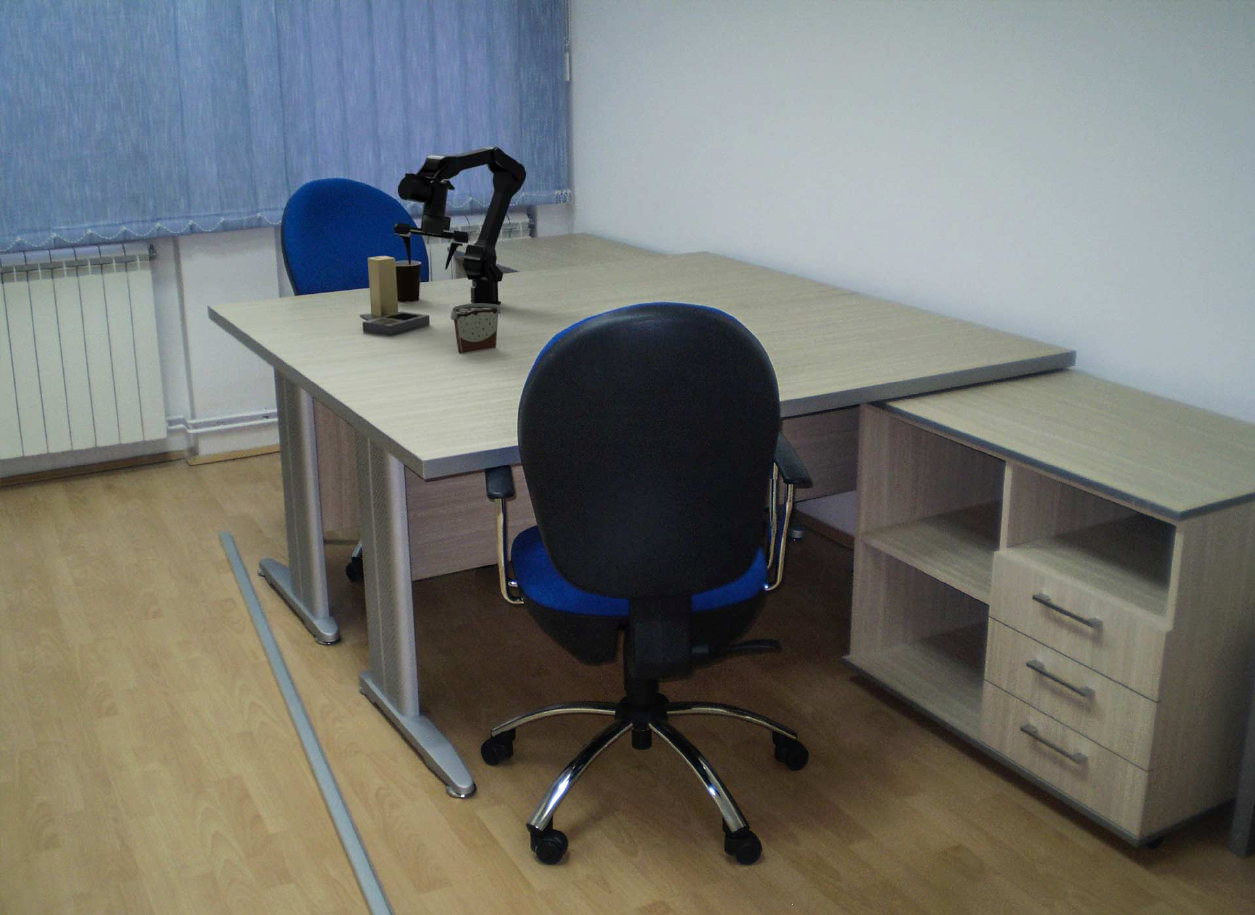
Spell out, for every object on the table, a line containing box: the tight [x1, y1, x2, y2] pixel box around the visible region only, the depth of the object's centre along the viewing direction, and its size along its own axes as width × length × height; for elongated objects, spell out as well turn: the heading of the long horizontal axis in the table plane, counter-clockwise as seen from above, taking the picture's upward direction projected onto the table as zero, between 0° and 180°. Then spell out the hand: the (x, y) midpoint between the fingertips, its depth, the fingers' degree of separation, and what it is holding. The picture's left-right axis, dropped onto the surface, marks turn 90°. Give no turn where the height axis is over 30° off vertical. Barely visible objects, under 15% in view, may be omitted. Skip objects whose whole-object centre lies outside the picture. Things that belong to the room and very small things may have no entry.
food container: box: [450, 303, 501, 355], centre depth 293 cm, size 12×6×10 cm, turn 129°
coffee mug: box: [395, 260, 422, 303], centre depth 348 cm, size 12×9×10 cm
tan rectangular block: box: [367, 255, 399, 318], centre depth 323 cm, size 5×5×15 cm
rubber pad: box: [359, 313, 376, 321], centre depth 326 cm, size 10×10×1 cm
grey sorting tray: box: [361, 311, 431, 337], centre depth 314 cm, size 14×9×3 cm, turn 149°
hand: (427, 267), depth 325 cm, fingers open, 9 cm apart
